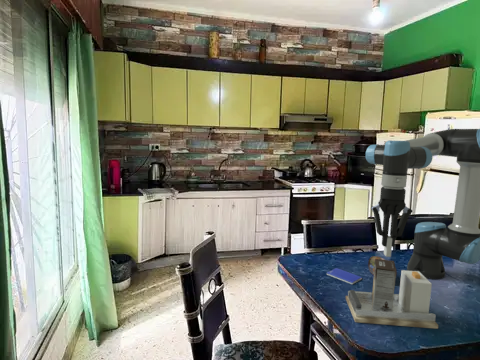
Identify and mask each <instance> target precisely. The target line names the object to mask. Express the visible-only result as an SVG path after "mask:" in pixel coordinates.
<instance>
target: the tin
mask: <svg viewBox="0 0 480 360" xmlns="http://www.w3.org/2000/svg"><path fill="white" fill-rule="evenodd" d="M375 259H382V260H386V259H385V258H383V257H380V256H379V255H377V256H374V255H372V256H371V257H369V259H368V262H367V266H368V271H369V272H370V273H371V274H372V276H374V268H375ZM397 272H398V271H397V269H396V276H397V274H398V273H397ZM396 279H397V277H396V278H395V280H396Z"/></svg>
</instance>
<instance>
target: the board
mask: <svg viewBox="0 0 480 360" xmlns="http://www.w3.org/2000/svg"><path fill="white" fill-rule="evenodd" d="M345 300H346V303H347V306H348V308H349V312H350V313H351V315H352V318H353V320H354V322H355V323H362V324H372V325H373V324H375V325H385V326H386V325H387V326H388V325H389V326H399V327H411V328H413V327H414V328H422V329H423V328H425V329H435V330H436V329H439V324H438V323H437V322H436V321H435V323H429V322H417V321H404V320H391V319H378V318H366V317H356V315H355V313H354V311H353V308H352V306H351V304H350V301H349V299H348V295H345Z"/></svg>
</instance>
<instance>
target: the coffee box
mask: <svg viewBox="0 0 480 360" xmlns="http://www.w3.org/2000/svg"><path fill="white" fill-rule="evenodd" d="M396 270H397V268H396V263H395V261H394V260H391V259H390V260H388V259H385V260H382V259H375V268H374V275H373V280H372V281H373V282H372V309H380V310H392V308H393V297H394V294H395V288H396V287H395V286H396V279H397V275H396ZM395 278H396V279H395Z"/></svg>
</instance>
